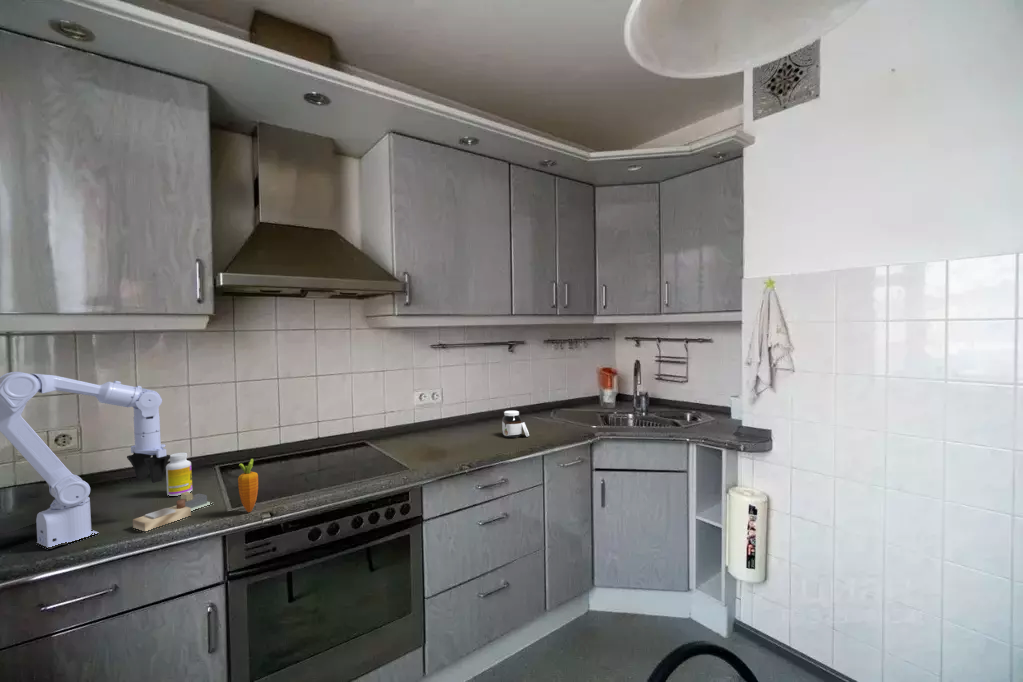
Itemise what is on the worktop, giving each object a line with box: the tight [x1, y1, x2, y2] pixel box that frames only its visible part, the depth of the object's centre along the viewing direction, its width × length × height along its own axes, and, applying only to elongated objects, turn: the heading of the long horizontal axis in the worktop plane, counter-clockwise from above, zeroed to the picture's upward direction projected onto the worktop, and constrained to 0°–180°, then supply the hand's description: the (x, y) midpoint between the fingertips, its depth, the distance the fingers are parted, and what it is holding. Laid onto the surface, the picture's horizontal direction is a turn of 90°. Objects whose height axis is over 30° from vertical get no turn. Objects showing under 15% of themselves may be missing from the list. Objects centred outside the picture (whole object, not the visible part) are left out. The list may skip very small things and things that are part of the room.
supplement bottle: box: [165, 452, 193, 497], centre depth 147 cm, size 7×7×13 cm
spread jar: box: [501, 410, 530, 439], centre depth 212 cm, size 12×11×12 cm
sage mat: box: [191, 500, 213, 512], centre depth 135 cm, size 8×8×1 cm
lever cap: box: [180, 492, 208, 508], centre depth 135 cm, size 6×4×4 cm, turn 154°
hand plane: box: [132, 498, 192, 531], centre depth 124 cm, size 11×6×4 cm, turn 153°
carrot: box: [237, 458, 259, 513], centre depth 129 cm, size 5×5×15 cm
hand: (149, 480), depth 128 cm, fingers open, 7 cm apart
